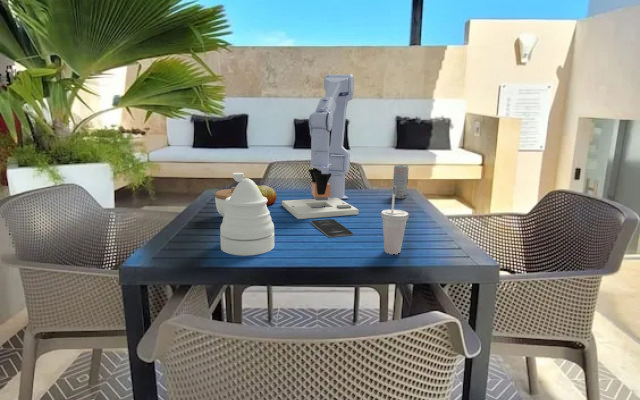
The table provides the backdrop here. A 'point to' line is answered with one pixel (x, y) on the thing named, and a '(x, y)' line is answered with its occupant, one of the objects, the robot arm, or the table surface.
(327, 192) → the orange cube
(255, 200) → the honey pot
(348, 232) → the smartphone
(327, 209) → the socket plate
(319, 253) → the table surface
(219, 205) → the lidded jar
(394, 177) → the energy drink
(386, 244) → the smoothie
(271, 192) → the fruit
